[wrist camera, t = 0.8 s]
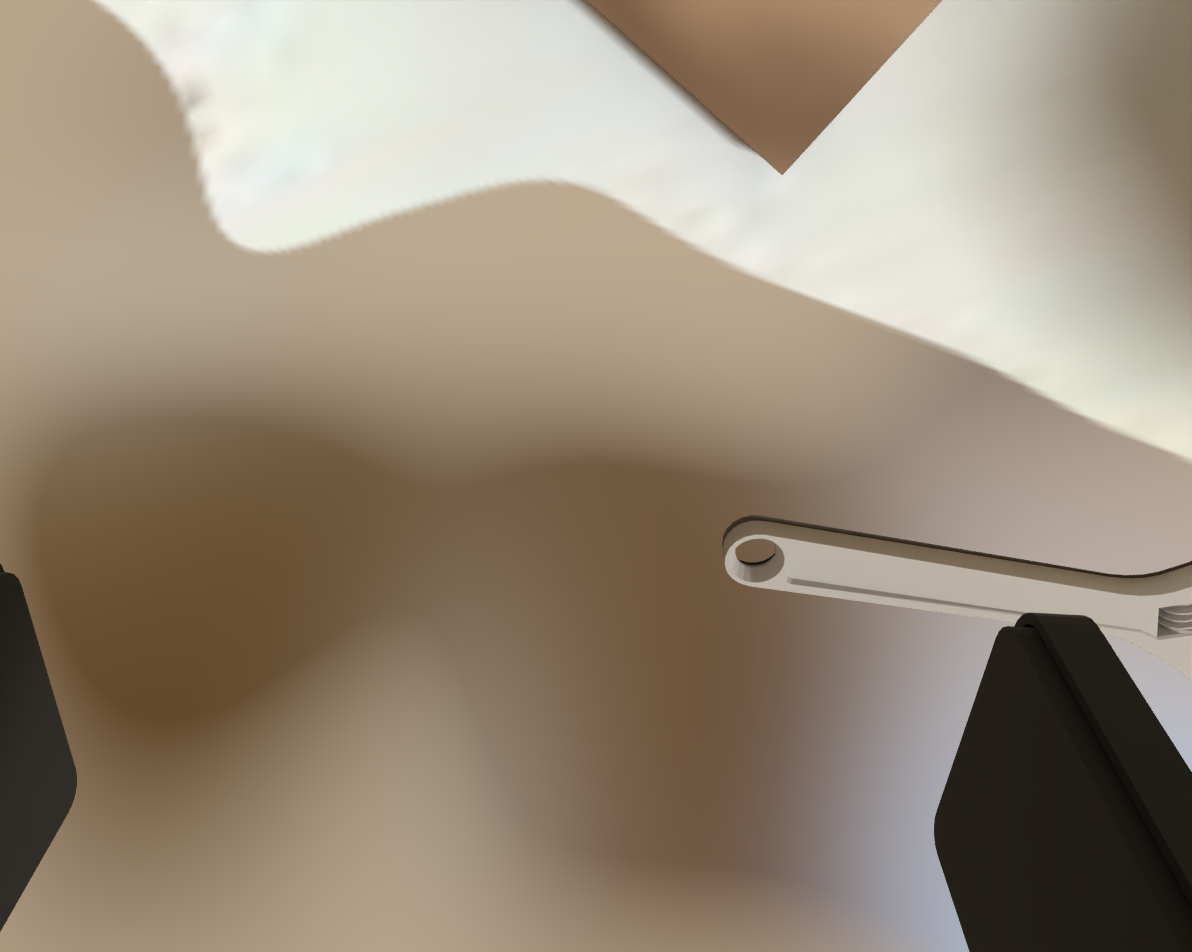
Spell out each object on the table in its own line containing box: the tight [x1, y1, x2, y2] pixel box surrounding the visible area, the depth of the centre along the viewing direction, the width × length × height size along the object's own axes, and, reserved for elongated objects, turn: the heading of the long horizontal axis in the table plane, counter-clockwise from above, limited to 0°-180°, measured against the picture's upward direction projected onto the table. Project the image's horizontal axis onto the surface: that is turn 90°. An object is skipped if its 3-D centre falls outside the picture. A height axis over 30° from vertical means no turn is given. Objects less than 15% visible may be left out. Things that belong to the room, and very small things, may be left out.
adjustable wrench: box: [722, 515, 1192, 681], centre depth 42 cm, size 25×6×2 cm, turn 76°
